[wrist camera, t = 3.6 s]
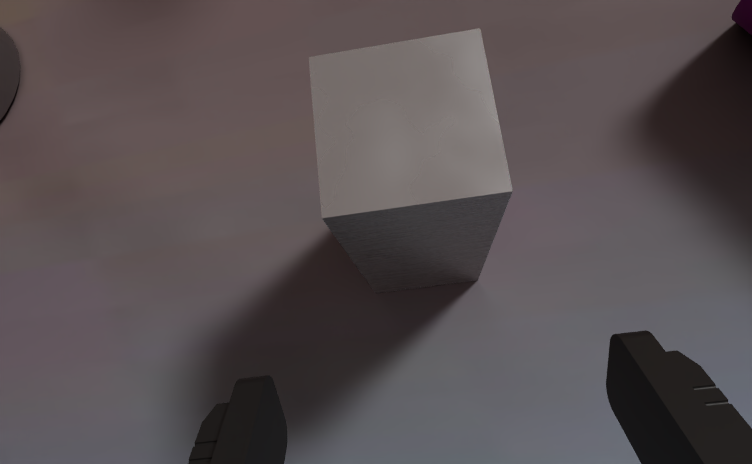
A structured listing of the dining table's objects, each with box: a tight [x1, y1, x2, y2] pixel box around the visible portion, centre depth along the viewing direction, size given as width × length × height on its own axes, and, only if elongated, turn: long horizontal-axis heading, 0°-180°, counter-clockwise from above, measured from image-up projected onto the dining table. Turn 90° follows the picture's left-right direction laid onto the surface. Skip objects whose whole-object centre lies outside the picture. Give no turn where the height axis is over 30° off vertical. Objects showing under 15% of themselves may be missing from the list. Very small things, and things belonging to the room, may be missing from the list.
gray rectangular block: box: [309, 28, 512, 293], centre depth 18 cm, size 4×4×11 cm
